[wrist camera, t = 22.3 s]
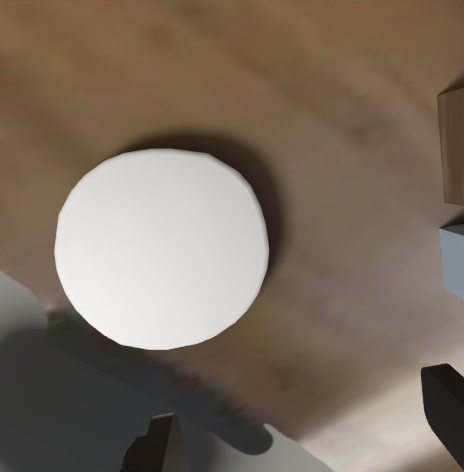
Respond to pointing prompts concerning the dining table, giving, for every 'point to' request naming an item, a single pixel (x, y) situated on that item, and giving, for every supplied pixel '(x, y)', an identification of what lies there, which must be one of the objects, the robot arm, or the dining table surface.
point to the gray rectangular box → (453, 259)
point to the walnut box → (452, 144)
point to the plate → (161, 247)
